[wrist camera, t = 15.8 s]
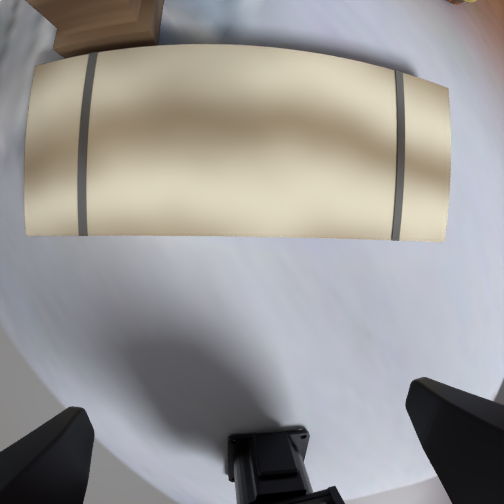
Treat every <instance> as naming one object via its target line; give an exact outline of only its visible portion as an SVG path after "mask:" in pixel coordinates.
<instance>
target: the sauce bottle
mask: <svg viewBox="0 0 504 504" xmlns="http://www.w3.org/2000/svg"><path fill="white" fill-rule="evenodd" d="M448 1H449V2H451V3H453V4H465V3H467V2H474V1H476V0H448Z"/></svg>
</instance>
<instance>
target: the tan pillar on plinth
mask: <svg viewBox="0 0 504 504" xmlns="http://www.w3.org/2000/svg"><path fill="white" fill-rule="evenodd" d="M25 1H27V2H28V3H29V4H30V5H31V6H32V7H34V8H35V9H36V10H37V11H38V12H39V13H41V14H42V15H43V16H44V17H45V18H46V19H47V20H49V21H50V22H51V23H52V24H53V25H54V26H55V27H56V28H57V32H56V37H55V41H54V46H53V50H55V51H56V52H57V53H59V54H60V55H61V56H63V57H64V58H65V59H66V58H71V57H76V56H81V55H86V54H89V53H93V52H104V51H111V50H118V49H127V48H136V47H147V46H158V41H159V32H160V25H161V17H162V10H163V3H164V0H25Z"/></svg>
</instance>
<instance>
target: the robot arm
mask: <svg viewBox="0 0 504 504" xmlns="http://www.w3.org/2000/svg"><path fill="white" fill-rule="evenodd" d="M406 410H407V412H408V414H409V417H410V419H411V421H412V424H413V426H414V429H415V431H416V433H417V436H418V438H419V441H420V443H421V445H422V447H423V449H424V451H425V453H426V455H427V457H428V459H429V461H430V462H431V464H432V466H433V468H434V470H435V472H436V473H437V475H438V477H439V479H440V481H441V483H442V485H443V486H444V488H445V490H446V492H447V494H448V496H449V498H450V500H451V502H452V504H504V405H502V404H500V403H497V402H494V401H491V400H488V399H485V398H482V397H479V396H476V395H473V394H470V393H468V392H465V391H462V390H459V389H456V388H454V387H451V386H448V385H446V384H443V383H440V382H437V381H435V380H432V379H430V378H427V377H422V378H418V379H415V380H413V381H412V382H411V384H410V388H409V392H408V395H407V399H406ZM302 435H304V436H302ZM309 437H310V435H309V432H308V431H307V430H297V431H287V432H275V433H259V434H234V435H230V436H229V437H228V477H229V481H231V482H235V488H236V499H237V504H345V503H344V501H343V499H342V498H341V496H340V494H339V492H338V490H337V488H336V487H335V486H332V487H329V488H328V489H325V490H321V491H318V492H314V493H313V490H312V487H311V484H310V481H309V478H308V474H307V471H306V468H305V465H304V459H305V454H306V450H307V446H308V441H309ZM233 440H235V441H233ZM93 443H94V429H93V427H92V424H91V422H90V420H89V417H88V415H87V413H86V411H85V409H84V408H81V407H73V406H72V407H68V408H67V409H65V410H64V411H62V412H61V413H59V414H58V415H56V416H55V417H53V418H52V419H50V420H49V421H47V422H46V423H44V424H43V425H41V426H40V427H38V428H37V429H35V430H34V431H32V432H31V433H29V434H28V435H26V436H25V437H23V438H21V439H20V440H18V441H17V442H15V443H14V444H12V445H11V446H9V447H7V448H6V449H4V450H3V451H1V452H0V504H83V501H84V497H85V492H86V488H87V484H88V478H89V472H90V464H91V456H92V448H93Z"/></svg>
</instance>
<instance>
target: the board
mask: <svg viewBox="0 0 504 504" xmlns="http://www.w3.org/2000/svg"><path fill="white" fill-rule="evenodd" d="M450 170H451V126H450V105H449V91H448V88H446V87H444V86H441V85H438V84H435V83H433V82H430V81H427V80H424V79H421V78H418V77H415V76H412V75H408V74H405V73H403V72H401V71H397V70H391V69H388V68H384V67H380V66H376V65H372V64H368V63H364V62H360V61H355V60H351V59H346V58H341V57H336V56H330V55H325V54H319V53H313V52H306V51H299V50H291V49H283V48H274V47H263V46H249V45H229V44H180V45H160V46H147V47H136V48H127V49H118V50H111V51H104V52H93V53H89V54H86V55H81V56H76V57H71V58H66V59H61V60H57V61H53V62H49V63H45V64H41V65H37V66H35V70H34V76H33V82H32V88H31V94H30V101H29V109H28V118H27V128H26V140H25V159H24V209H25V228H26V236H72V235H79V236H88V235H149V236H244V237H297V238H338V239H372V240H394V241H399V240H402V241H430V242H445V235H446V227H447V217H448V206H449V191H450Z"/></svg>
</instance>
